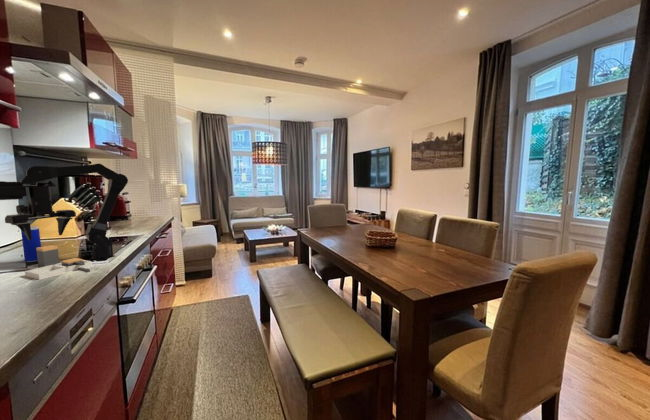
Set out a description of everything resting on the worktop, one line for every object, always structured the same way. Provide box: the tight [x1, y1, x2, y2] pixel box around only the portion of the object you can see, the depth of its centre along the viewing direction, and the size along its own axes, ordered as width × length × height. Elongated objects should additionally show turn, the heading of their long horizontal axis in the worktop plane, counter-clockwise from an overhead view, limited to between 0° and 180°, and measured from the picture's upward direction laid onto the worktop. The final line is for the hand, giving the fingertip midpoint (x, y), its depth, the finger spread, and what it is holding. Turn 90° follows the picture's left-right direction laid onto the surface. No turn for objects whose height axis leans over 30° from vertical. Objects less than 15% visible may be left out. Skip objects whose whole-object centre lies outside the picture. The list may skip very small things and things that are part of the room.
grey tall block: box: [36, 244, 60, 268], centre depth 107 cm, size 4×4×8 cm
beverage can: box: [20, 225, 42, 263], centre depth 114 cm, size 5×5×15 cm
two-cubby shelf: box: [24, 259, 93, 280], centre depth 103 cm, size 16×9×2 cm, turn 160°
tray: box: [26, 259, 62, 270], centre depth 107 cm, size 9×9×1 cm
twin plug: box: [60, 257, 91, 273], centre depth 105 cm, size 4×12×4 cm, turn 69°
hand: (45, 237), depth 106 cm, fingers open, 9 cm apart
